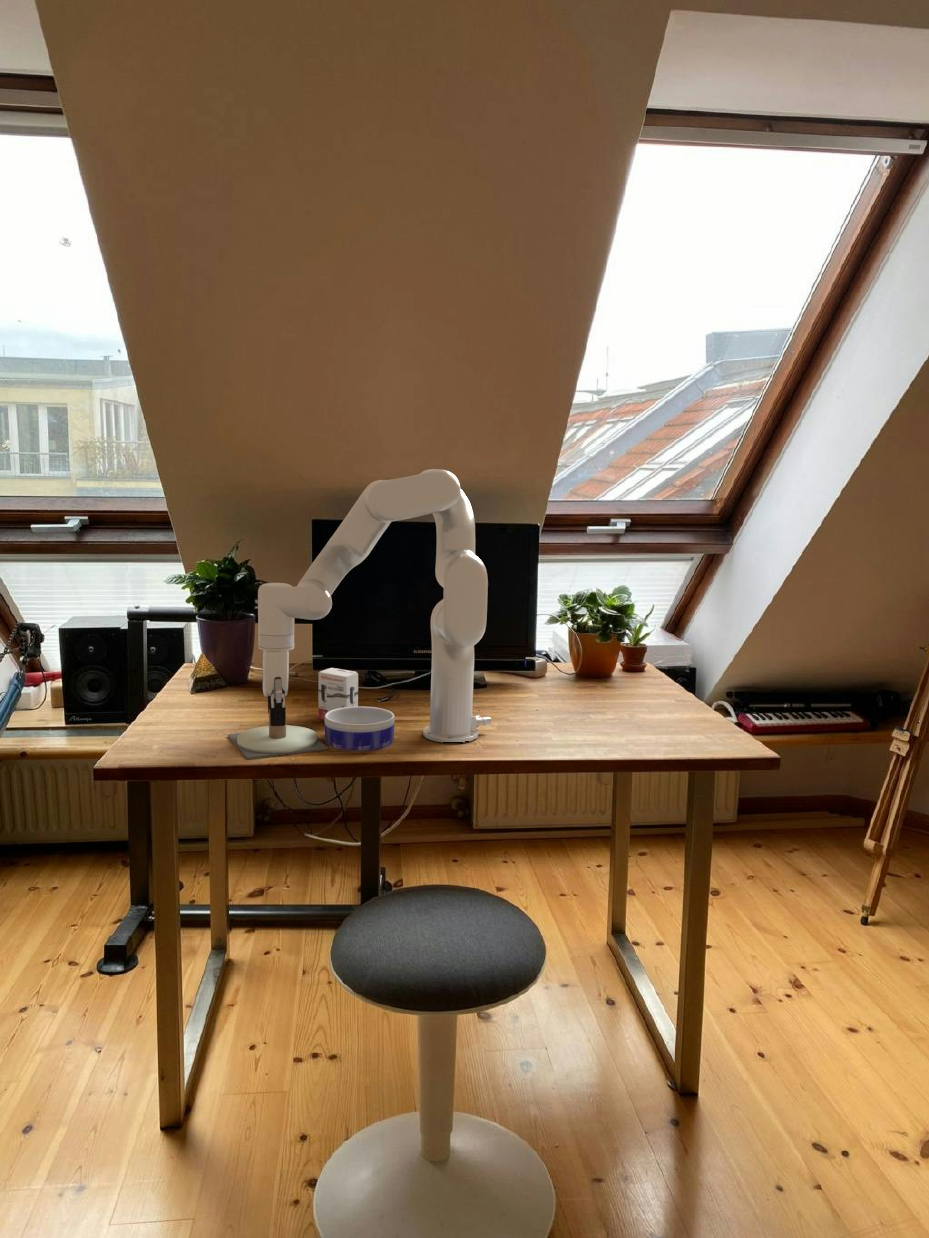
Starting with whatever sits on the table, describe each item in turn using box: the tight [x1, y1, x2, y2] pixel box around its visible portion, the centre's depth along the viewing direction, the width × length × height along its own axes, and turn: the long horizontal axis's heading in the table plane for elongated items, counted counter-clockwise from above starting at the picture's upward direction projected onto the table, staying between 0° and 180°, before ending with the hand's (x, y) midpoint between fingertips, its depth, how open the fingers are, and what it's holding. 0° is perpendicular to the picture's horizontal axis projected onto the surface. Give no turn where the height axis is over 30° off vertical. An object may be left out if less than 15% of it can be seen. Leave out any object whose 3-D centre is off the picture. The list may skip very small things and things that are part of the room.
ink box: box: [317, 667, 359, 721], centre depth 206 cm, size 8×5×12 cm, turn 60°
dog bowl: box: [324, 705, 396, 752], centre depth 190 cm, size 15×15×6 cm
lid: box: [237, 709, 318, 753], centre depth 186 cm, size 17×17×7 cm
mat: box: [227, 725, 328, 760], centre depth 187 cm, size 17×17×1 cm
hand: (276, 719), depth 186 cm, fingers open, 9 cm apart
